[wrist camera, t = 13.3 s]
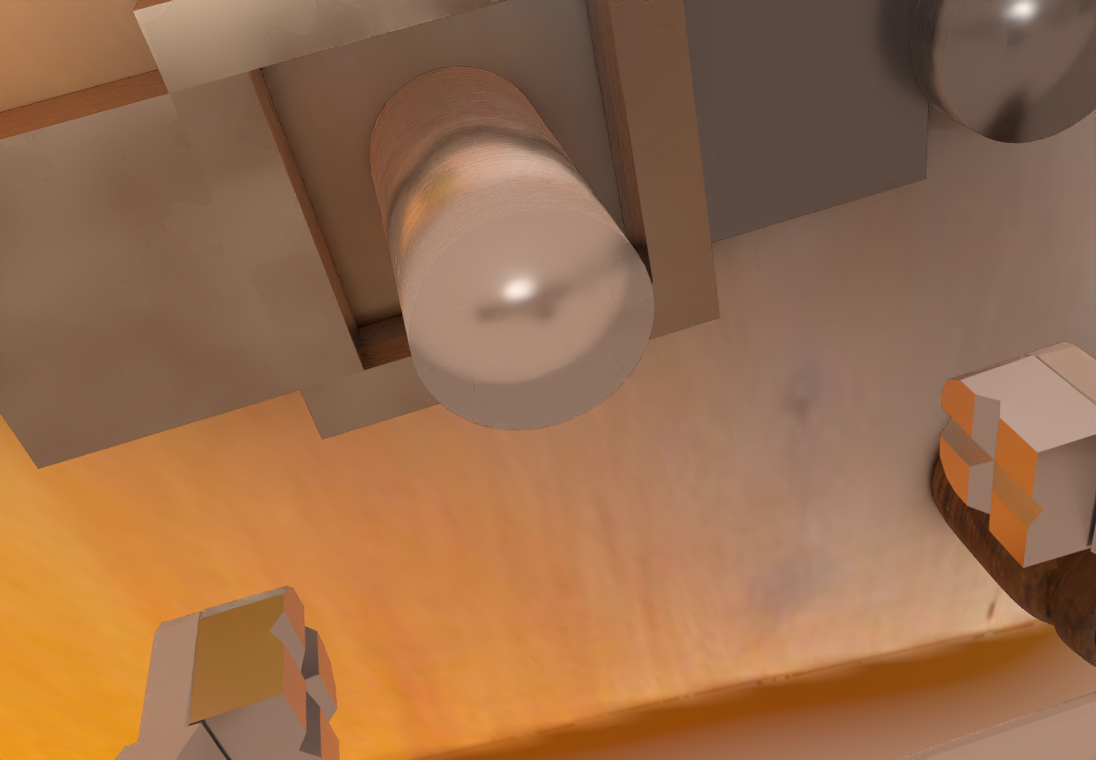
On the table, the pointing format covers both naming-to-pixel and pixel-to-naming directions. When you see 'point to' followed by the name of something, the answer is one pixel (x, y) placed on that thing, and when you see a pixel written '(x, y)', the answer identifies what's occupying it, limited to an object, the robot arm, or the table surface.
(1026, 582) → the utensil holder
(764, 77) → the lower chain link
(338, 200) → the table surface
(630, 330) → the steel pin
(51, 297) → the upper chain link
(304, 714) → the robot arm
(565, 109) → the table surface
